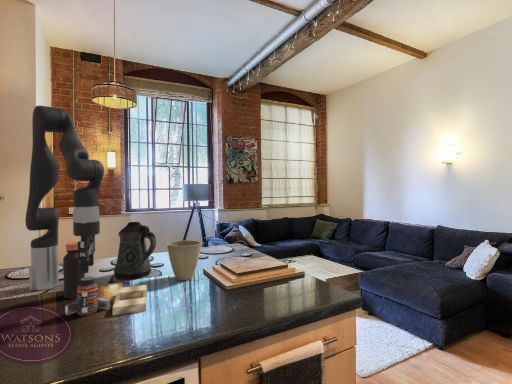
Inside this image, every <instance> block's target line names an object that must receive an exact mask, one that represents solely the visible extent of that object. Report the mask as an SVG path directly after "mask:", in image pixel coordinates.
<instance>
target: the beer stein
mask: <svg viewBox="0 0 512 384" xmlns="http://www.w3.org/2000/svg"><path fill="white" fill-rule="evenodd" d="M155 235H156V234H154V232H151V231H150V228H149V226H147V225H142V224H141V223H140V222H139V221H129V222H127V224H126V226H125V227H123V228H122V229H121V230H120V231H119V232H118V237H119V246H118V252H117V259H116V261H115V262H116V263H115V266H114V268H113V273H114V278H115V279H116V280H121V281H129V280H130V281H131V280H139V279H143V278H146V277H148V276H149V275H150V274H151V271H152V265H151V262H150V256H151V255H152V254H153V252H154V251H155V249H156V246H157V238H156V236H155ZM146 239H148V240H149V247H148V248H147V241H146Z"/></svg>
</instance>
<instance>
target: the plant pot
mask: <svg viewBox="0 0 512 384" xmlns="http://www.w3.org/2000/svg"><path fill="white" fill-rule="evenodd" d="M201 244H202V241H199V240H190V239H189V240H176V241H175V240H174V241H170V242H168V243H167V245H166V247H167V251H168V257H169V262H170V265H171V269H172V271H173V275H174V277H175V279H176V280H178V281H188V280H191V279H193V277H194V275H195V271H196V270H197V265H198V261H199V256H200V251H201V246H202V245H201Z"/></svg>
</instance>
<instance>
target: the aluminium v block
mask: <svg viewBox="0 0 512 384" xmlns="http://www.w3.org/2000/svg"><path fill="white" fill-rule="evenodd" d="M64 307H65V308H64V309H65V314H64V315H65V316H70V315H72V314H75V313H77V301H74V302H72V303H68V304H66V305H65V306H64ZM98 309H100V310H101V309H102V310H105V311H108V310H110V309H111V300H110V299H107V298H101V297H98Z"/></svg>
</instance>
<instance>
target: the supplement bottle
mask: <svg viewBox="0 0 512 384" xmlns="http://www.w3.org/2000/svg"><path fill="white" fill-rule="evenodd" d="M80 283H81V284H80V285H79V286H78V288H77V298H76V302H77V312H76V313H77V315H78V316H83V317H84V316H89V315H92V314H95V313H96V312H97V311H98V310H99V308H98V296H99V288H98V287H99V286H98V283H96V282H95V277H94V276H85V277H84V278H82V279H81V282H80Z"/></svg>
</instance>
